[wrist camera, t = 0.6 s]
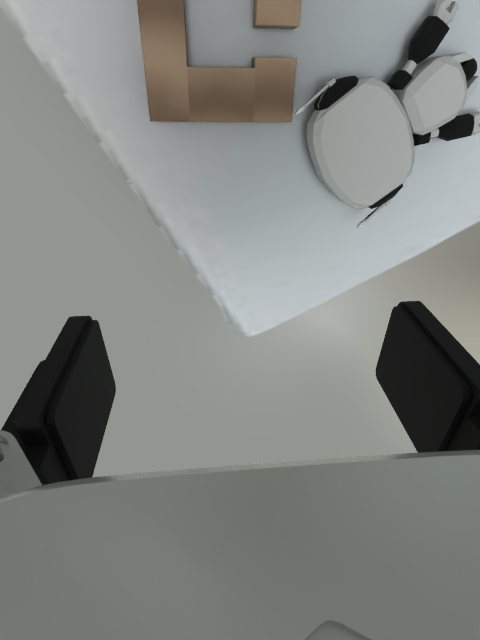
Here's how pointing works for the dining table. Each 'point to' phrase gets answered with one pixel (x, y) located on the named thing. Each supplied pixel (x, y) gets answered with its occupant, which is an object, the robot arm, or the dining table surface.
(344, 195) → the robot toy
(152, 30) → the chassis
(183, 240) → the dining table surface
